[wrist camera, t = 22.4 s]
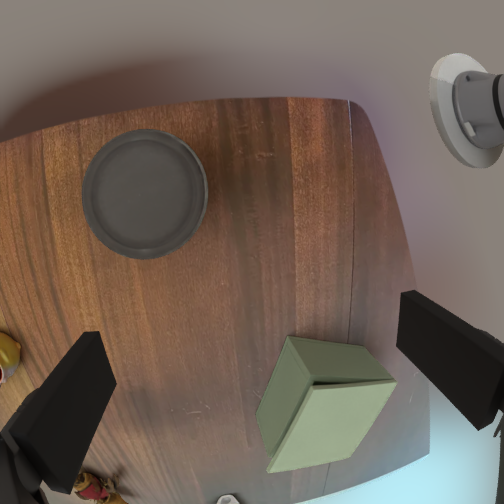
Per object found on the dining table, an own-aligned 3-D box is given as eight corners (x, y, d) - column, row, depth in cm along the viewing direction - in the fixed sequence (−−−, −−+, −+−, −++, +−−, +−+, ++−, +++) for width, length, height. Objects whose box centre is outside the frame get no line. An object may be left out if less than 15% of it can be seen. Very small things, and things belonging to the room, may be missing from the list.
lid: (266, 469, 35) (268, 473, 34) (310, 385, 32) (313, 389, 31) (347, 454, 41) (349, 457, 40) (394, 378, 38) (397, 381, 37)
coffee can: (160, 245, 38) (143, 285, 24) (104, 187, 35) (58, 196, 21) (220, 188, 37) (236, 196, 24) (164, 127, 34) (147, 102, 21)
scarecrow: (79, 492, 47) (74, 516, 40) (54, 453, 43) (45, 480, 35) (146, 500, 50) (145, 527, 43) (130, 464, 46) (126, 494, 38)
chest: (255, 414, 47) (268, 457, 38) (287, 335, 44) (310, 374, 35) (326, 417, 51) (347, 454, 41) (363, 345, 48) (394, 378, 38)
